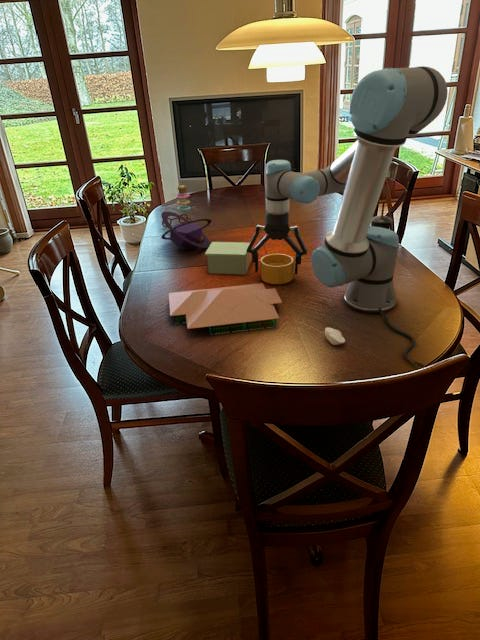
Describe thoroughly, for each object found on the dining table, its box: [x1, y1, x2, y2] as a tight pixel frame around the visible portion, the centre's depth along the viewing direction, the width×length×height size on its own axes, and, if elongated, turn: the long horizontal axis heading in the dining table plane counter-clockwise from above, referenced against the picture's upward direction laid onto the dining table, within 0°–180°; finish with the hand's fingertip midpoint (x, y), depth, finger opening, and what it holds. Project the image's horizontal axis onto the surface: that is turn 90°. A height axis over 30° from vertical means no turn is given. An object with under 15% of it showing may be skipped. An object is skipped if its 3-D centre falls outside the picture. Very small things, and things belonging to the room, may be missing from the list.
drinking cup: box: [370, 201, 393, 230], centre depth 164 cm, size 8×8×20 cm
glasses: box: [161, 213, 199, 228], centre depth 201 cm, size 13×13×5 cm
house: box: [168, 282, 283, 335], centre depth 132 cm, size 23×33×8 cm
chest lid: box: [204, 241, 250, 257], centre depth 160 cm, size 14×12×1 cm
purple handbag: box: [160, 184, 212, 252], centre depth 175 cm, size 22×21×25 cm
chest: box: [206, 252, 252, 276], centre depth 162 cm, size 14×12×7 cm
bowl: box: [260, 253, 295, 285], centre depth 152 cm, size 11×11×7 cm
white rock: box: [324, 326, 346, 346], centre depth 118 cm, size 7×5×4 cm
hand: (276, 271), depth 153 cm, fingers open, 13 cm apart
